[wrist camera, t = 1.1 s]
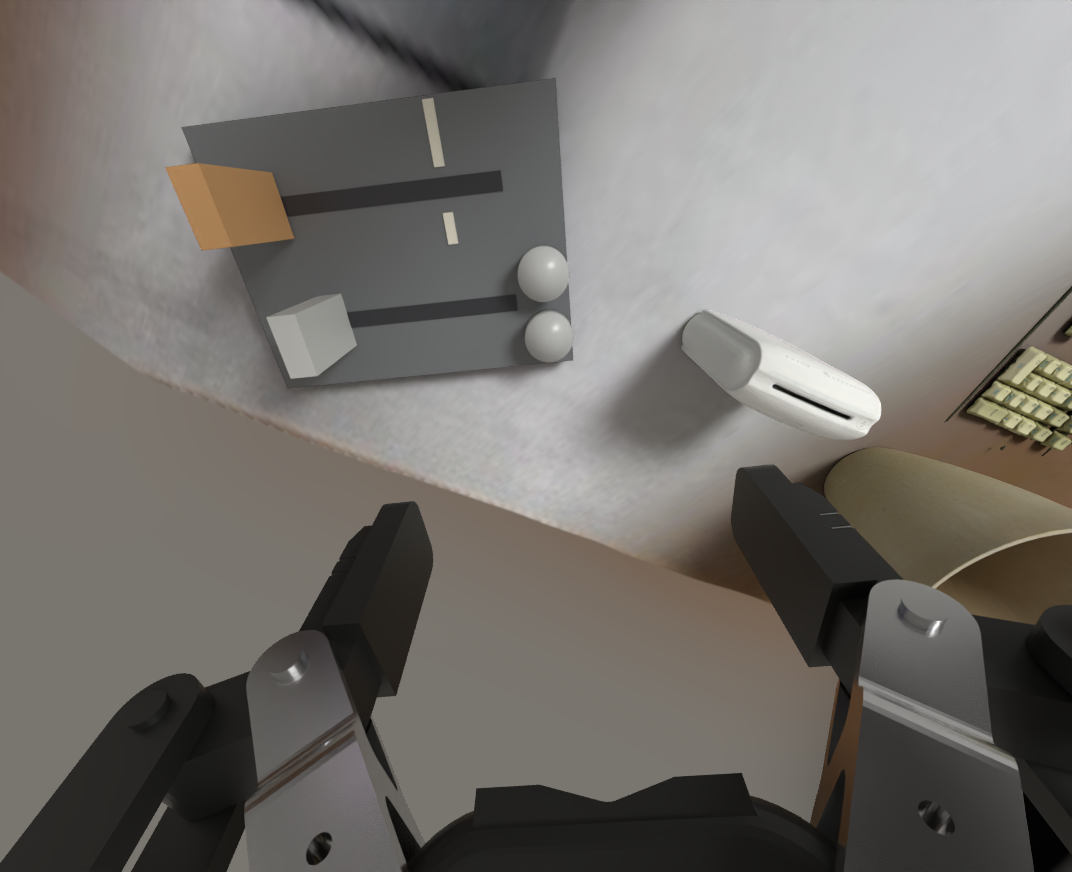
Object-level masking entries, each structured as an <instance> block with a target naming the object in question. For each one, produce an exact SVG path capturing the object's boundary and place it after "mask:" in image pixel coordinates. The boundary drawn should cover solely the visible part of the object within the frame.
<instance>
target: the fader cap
mask: <svg viewBox="0 0 1072 872" xmlns="http://www.w3.org/2000/svg"><path fill="white" fill-rule="evenodd" d="M165 168H166V170H167V173H168V175H169V177H170V180H171V182H172V184H173V186H174V189H175V191H176V193H177V195H178V198H179V200H180V202H181V205H182V207H183V209H184V211H185V214H186V216H187V218H188V221H189V223H190V225H191V227H192V230H193V232H194V234H195V237H196V239H197V241H198V243H199V246H200V248H201V250H210V249H218V248H227V247H235V246H243V245H250V244H258V243H265V242H273V241H280V240H288V239H294V236H293V233H292V230H291V227H290V224H289V221H288V218H287V215H286V212H285V209H284V206H283V203H282V200H281V197H280V194H279V191H278V189H277V186H276V183H275V180H274V177H273V174H272V173H271V172H263V171H256V170H248V169H240V168H232V167H224V166H217V165H209V164H201V163H195V164H187V165H180V166H172V167H165Z"/></svg>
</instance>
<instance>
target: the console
mask: <svg viewBox="0 0 1072 872" xmlns="http://www.w3.org/2000/svg"><path fill="white" fill-rule="evenodd" d="M182 130H183V132H184V135H185V137H186V140H187V142H188V145H189V147H190V150H191V152H192V154H193V157H194V159H195V162H196V163H201V164H209V165H217V166H224V167H232V168H240V169H248V170H256V171H263V172H271V173H272V174H273V177H274V180H275V183H276V186H277V189H278V191H279V194H280V197H281V200H282V203H283V206H284V209H285V212H286V215H287V218H288V221H289V224H290V227H291V230H292V233H293V236H294V239H288V240H280V241H273V242H265V243H258V244H250V245H243V246H235V247H230V248H231V250H232V253H233V255H234V257H235V260H236V262H237V265H238V267H239V270H240V272H241V275H242V277H243V280H244V282H245V284H246V287H247V289H248V292H249V294H250V297H251V299H252V302H253V304H254V307H255V309H256V311H257V314H258V316H259V319H260V321H261V324H262V326H263V329H264V331H265V334H266V336H267V338H268V341H269V343H270V346H271V348H272V351H273V353H274V356H275V358H276V361H277V363H278V365H279V368H280V370H281V373H282V375H283V378H284V380H285V383H286V385H287V388H297V387H307V386H317V385H327V384H337V383H348V382H358V381H368V380H378V379H388V378H398V377H409V376H419V375H429V374H439V373H449V372H459V371H470V370H480V369H490V368H500V367H510V366H520V365H531V364H541V363H551V362H561V361H571V360H573V349H572V344H573V332H572V329H571V317H570V301H569V286H568V281H569V268H568V264H567V254H566V238H565V222H564V207H563V191H562V175H561V159H560V143H559V128H558V112H557V96H556V80H555V78H553V79H545V80H537V81H530V82H522V83H515V84H507V85H499V86H492V87H484V88H476V89H469V90H461V91H454V92H446V93H438V94H431V95H423V96H416V97H408V98H400V99H393V100H385V101H378V102H370V103H362V104H355V105H347V106H339V107H332V108H324V109H317V110H309V111H301V112H294V113H286V114H279V115H271V116H263V117H256V118H248V119H240V120H233V121H225V122H218V123H210V124H202V125H195V126H187V127H182Z"/></svg>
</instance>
